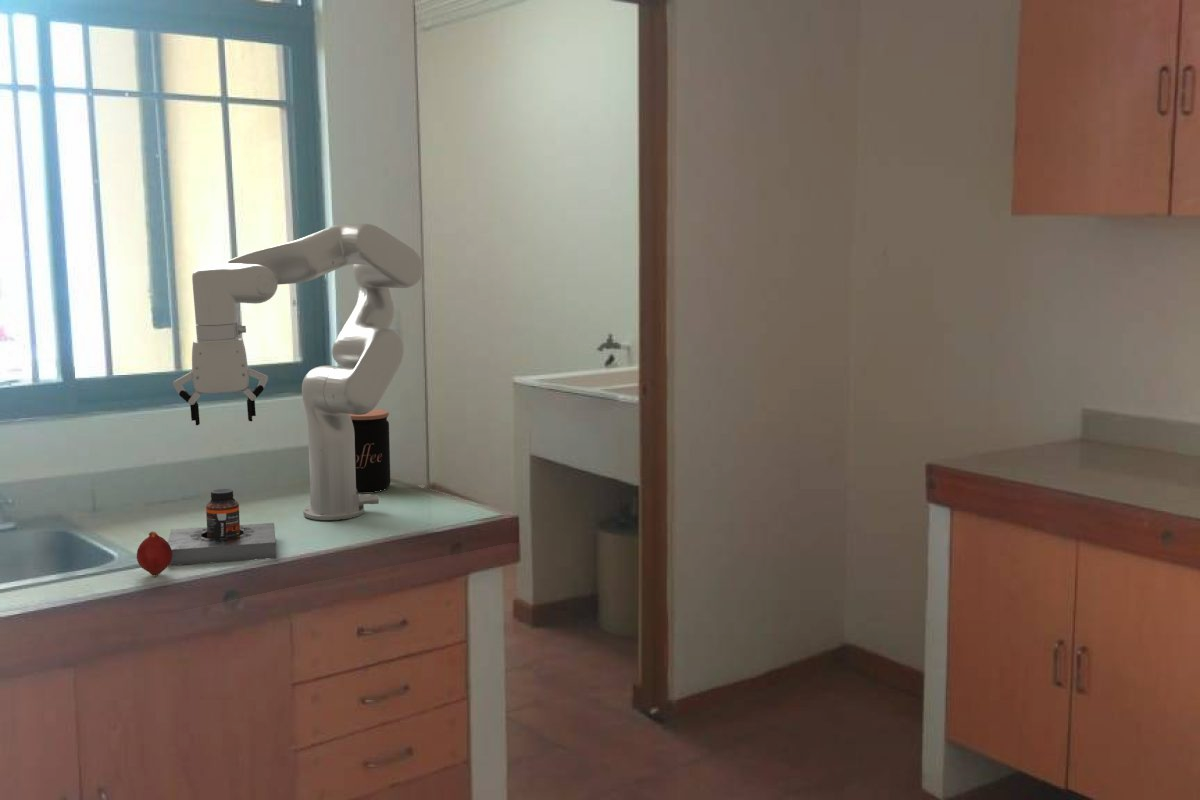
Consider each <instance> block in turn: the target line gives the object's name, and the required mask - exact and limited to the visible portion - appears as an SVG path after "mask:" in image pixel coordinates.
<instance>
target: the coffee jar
mask: <svg viewBox="0 0 1200 800" xmlns="http://www.w3.org/2000/svg"><path fill="white" fill-rule="evenodd" d="M349 415H350V417H351V420H352V423H353V426H354V433H355V470H356V489H357V491H358V492H374V493H376V492H375V491H380V490H384V489H386V488H387V487H388V488H389V486H390V485H391V455H390V454H391V453H390V452H391V451H390V423H389V420H388V419H387V418H388V417H389V415H390V414H389V411H388V410H386V409H379V408H378V409H376V408H374V409H373V410H372V411H370V412H369V413H366V414H363V415H353V414H349ZM388 488H387V489H388ZM387 489H386V490H387ZM384 491H385V490H384ZM380 492H381V491H380Z"/></svg>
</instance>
